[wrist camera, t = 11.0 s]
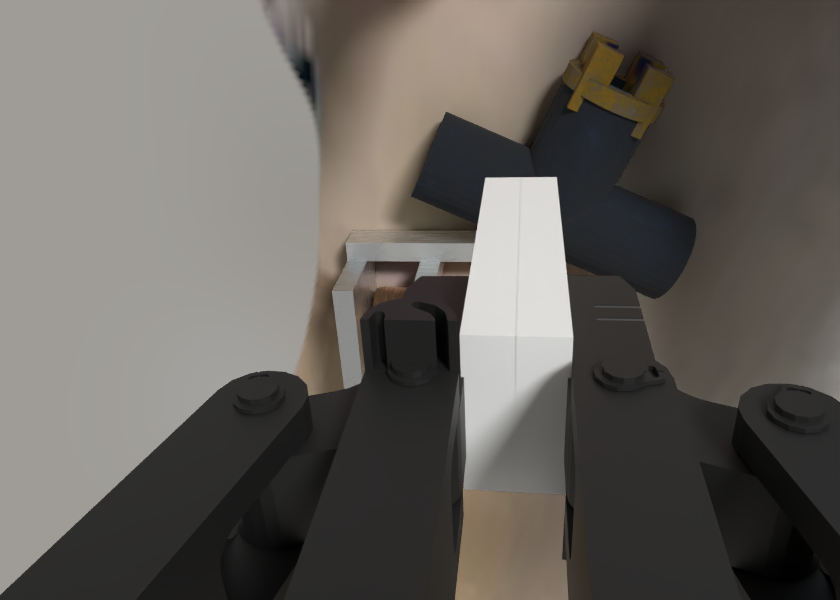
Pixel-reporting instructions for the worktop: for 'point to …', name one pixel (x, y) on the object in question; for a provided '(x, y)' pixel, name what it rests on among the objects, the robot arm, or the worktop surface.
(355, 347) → the grey slatted rack
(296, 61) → the worktop surface
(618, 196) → the pipe connector
